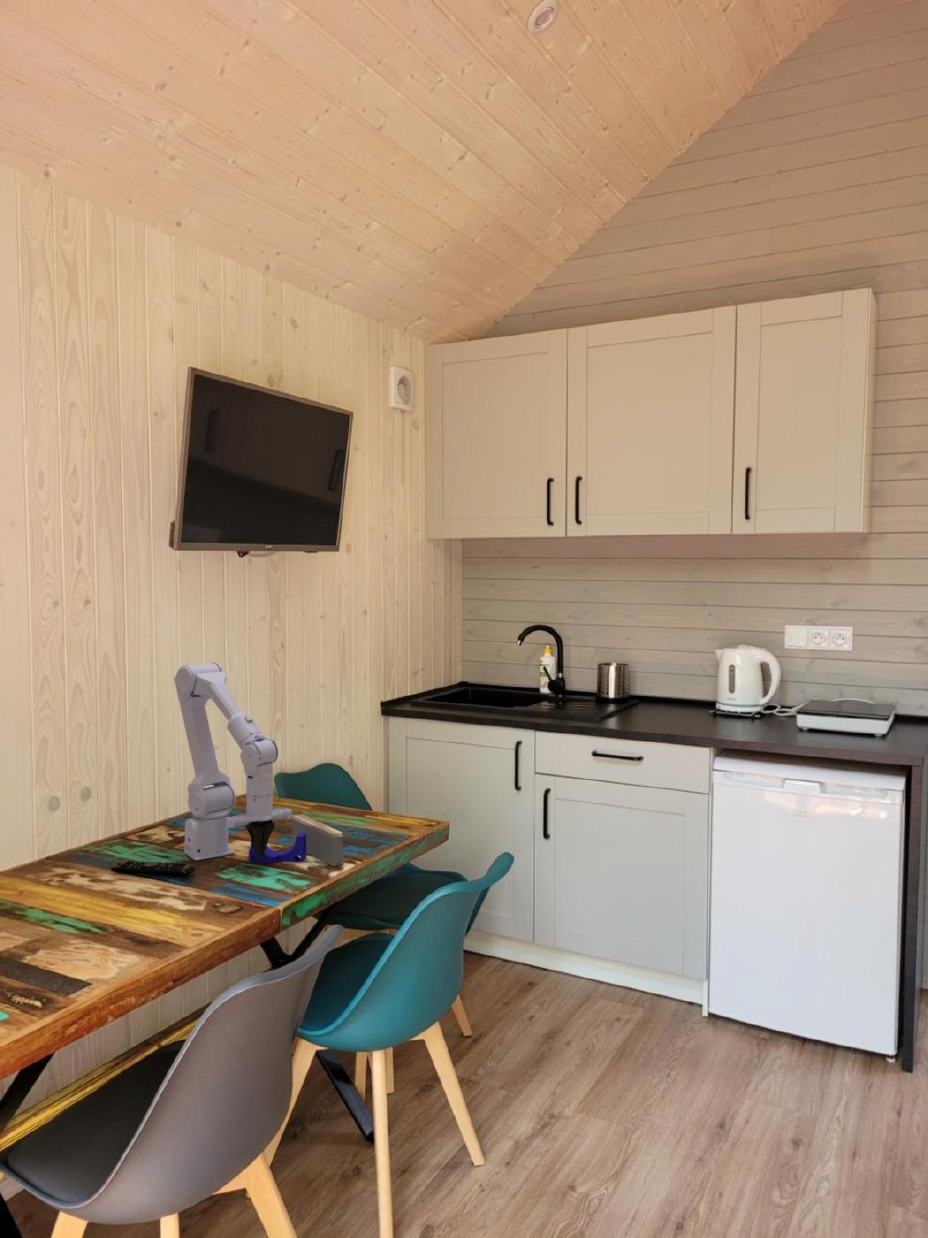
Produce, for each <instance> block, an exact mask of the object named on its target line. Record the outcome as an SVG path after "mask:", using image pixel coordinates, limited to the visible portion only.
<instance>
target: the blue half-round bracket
mask: <svg viewBox="0 0 928 1238" xmlns="http://www.w3.org/2000/svg"><path fill="white" fill-rule="evenodd" d="M306 859H307V853H306V833H299V834H298V835H297V837H296V843H295V845H294V846H292V847H291V848H289V849H287V850H284V851H277V850H274V849H272V848H270V847H269V846H268V845H267V846H266V850H265V855H263V856H257V855H256V854H255V850H254V846H253V842H252V839H251V838H250V848H249V849H248V863H254V864H255V863H256V864H257V863H258V864H276V863H277V862H289V863H291V862H293V863H294V862H295V863H304V861H305V860H306Z"/></svg>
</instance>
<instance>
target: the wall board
mask: <svg viewBox="0 0 928 1238" xmlns="http://www.w3.org/2000/svg"><path fill="white" fill-rule="evenodd" d="M299 833H306V854H308V855H310V856H311V857H314V858H315V857H316V859H317V858H318V860H319V859H320V861H321V862H324V864H326V865H327V864H328V865H329V864H330V865H329V866H331V867H336V865H338V866H341V865H340V864H343V862H344V861H343V857H344V856H343V854H344V853H343V851H344V850H343V846H344V843H343V839H344V837H343V836H344V833H343V832H342V831H340V830H337V829H336V828H333V827H331V826H328V825H326V824H324V823H323V822H320V821H318V820H315V819H313V818H312V817H310V816H307V815H305V814H301V813H300V814H297V815H296V814H295V815H292V847H294V845H295V843H296V837H297V835H298V834H299Z"/></svg>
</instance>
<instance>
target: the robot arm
mask: <svg viewBox="0 0 928 1238" xmlns="http://www.w3.org/2000/svg"><path fill="white" fill-rule="evenodd" d="M227 678H228V677H227V673H225V671H224V669H223V667H222V665H221V664H220V663H218V662H211V663H201V664H189V665H188V664H183V665H181V666H179V668H178V670H177V672H176V674H175V676H174V678H173V680H174V684H175V685H174V686H175V688H176V694H177V698H178V702H179V705H180V706H179V707H180V710H181V715H182V720H183V721H182V722H183V724H184V729H185V733H186V739H187V744H188V748H189V753H190V757H191V762H192V765H193V770H194V774H195V777H194V778H193V779H192V781H190V783H189V784H188V785H187V787H186V788H187V792H188V799H187V804H188V805H187V806H188V809H189V811H190V813H191V814H192V815H193V817H190V818H187V819H186V820H185V823H184V850H183V853H184V854H185V855H187V856H189V858H191V859H192V860H194V861H200V860H201V861H202V860H207V859H211V858H218V857H223V856H229V855H234V854H236V852H235V850H233V849H232V848H230V847H229V828H230V829H234V828H235V827H240V826H245V829H246V830H247V832H248V834H249V837H250V840H251V839H252V842H253V846H254V850H255V854H256V855H257V856H263V855H265V850H266V846H268V845H267V844H268V842H269V839H270V837H271V835H272V832H273V831H274V829H275V822H273V821H278V820H286V819H287V820H290V819H292V809H289V808H288V807H287V808H280V809H277V808H276V809H274V807H273V805H274V802H273V801H274V797H273V796H274V794H273V793H274V789H273V788H274V785H273V784H274V783H273V781H274V780H273V779H274V778H273V776H274V770H273V769H274V768H273V767H274V765H273V764H275V763H276V762H277V760H278V758H279V748H278V745H277V743H276V741H275V740H274V739H273V738H271V737H267V735H266V734H263V733H262V731H261V730H260V728H259V727H258V725H257V724H256V722H255V720H254V718H253V716H251V714H249V713H247V712H246V713H245V712H242V710H241V709H240V707H239V705H238V703H237V702H236V700H235V698H234V696H233V694H232V693H231V690H230V689H229V687H228V685H227ZM209 700H212V702H213V703H214V705H215V706H216V707H217V708H218V709H219V710H220V712H221V713H222V714H223V716H224V717H225V718H226V720H227V731H228V732H229V734H230V735H231V736H232V738H233V740H234V741H235V742H236V744H237V746H238V747H239V748H240V750H241V752H240V753H239V756H240V761H241V763H242V765H243V772H244V775H245V776H246V778H245V779H246V781H245V782H246V785H245V786H246V792H245V793H246V798H245V799H246V804H245V806H246V812H245V813H241V814H237V815H234V816H230V817H229V814H231V813H232V812H231V810H232V809H233V808H234V807H235V805H236V800H237V794H236V791H235V789H234V787H233V785H232V784H231V781H230V777H229V776H228V775H227V774H225V773H223V772H222V771H220V769H219V765H218V760H217V756H216V750H215V747H214V743H213V738H212V734H211V733H212V732H211V730H210V729H211V728H210V725H209V721H208V714H207V711H206V704H207V703H208V701H209ZM207 786H209V787H207Z"/></svg>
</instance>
